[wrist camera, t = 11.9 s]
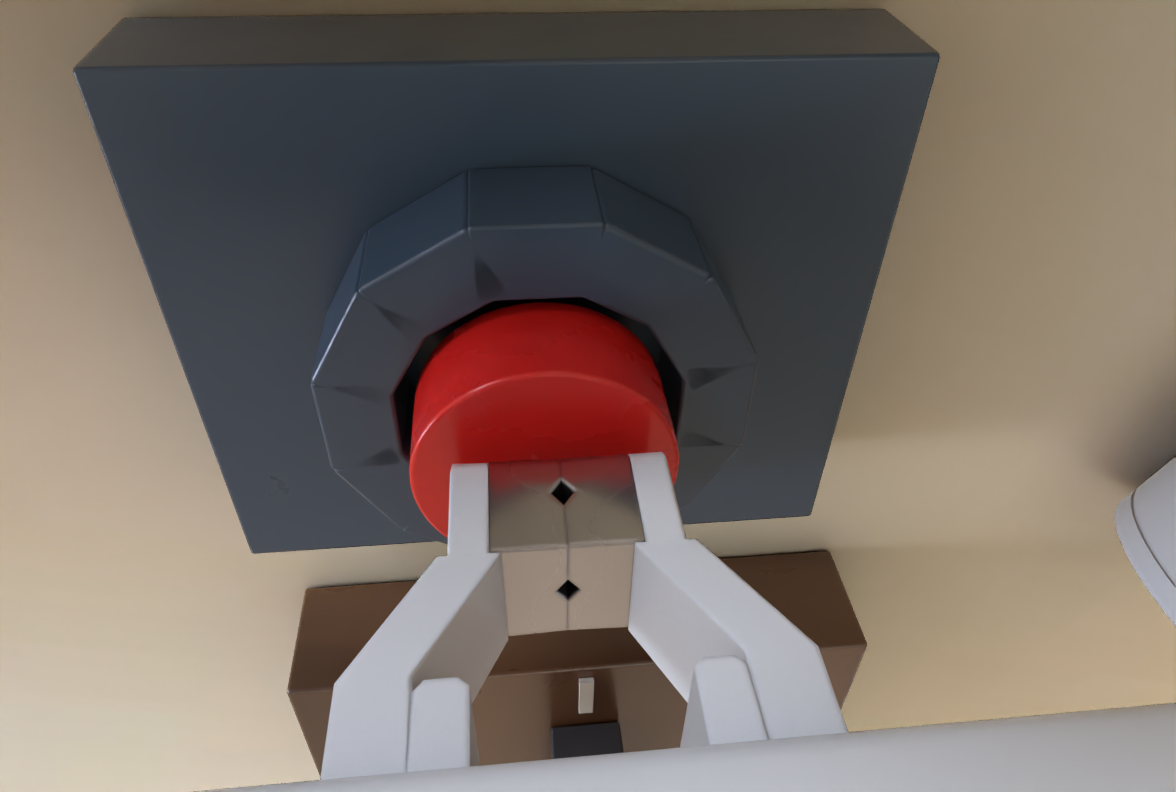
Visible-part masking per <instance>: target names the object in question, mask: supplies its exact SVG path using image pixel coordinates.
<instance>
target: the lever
mask: <svg viewBox="0 0 1176 792" xmlns="http://www.w3.org/2000/svg"><path fill="white" fill-rule="evenodd" d="M550 741H551V759H559V758H570V757H581V756H592V755H603V754H614V753H624V750H623V743H622V736H621V729H620V724H619V722H611V723H600V724H589V725H577V726H566V727H555V728H551V730H550Z"/></svg>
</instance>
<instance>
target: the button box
mask: <svg viewBox="0 0 1176 792" xmlns="http://www.w3.org/2000/svg"><path fill="white" fill-rule="evenodd" d="M939 59H940V54H939V53H938V52H937V51H936V50H934V49H933V48H932V47H931V46H930V45H928V44H927V43H926V42H925V41H923V40H922V39H921V38H920V37H919V36H917V35H916V34H915V33H914V32H912V31H911V30H910V29H909V28H908V27H906V26H905V25H904V24H903V23H901V22H900V21H899V20H898V19H897V18H895V17H894V16H893V15H892V14H890V13H889V12H888V11H887V10H885V9H852V10H766V11H681V12H596V13H511V14H426V15H340V16H255V17H170V18H124V19H122V20H121V21H120V22H119V23H118V24H117V25H116V26H115V27H114V28H113V29H112V30H111V31H110V32H109V33H108V34H107V35H106V36H105V37H104V38H103V39H102V40H101V41H100V42H99V43H98V44H97V45H96V46H95V47H94V48H93V49H92V50H91V51H90V52H89V53H88V54H87V55H86V56H85V57H84V58H83V59H82V60H81V61H80V62H79V63H78V64H77V65H76V66H75V67H74V68H73V73H74V76H75V79H76V81H77V84H78V87H79V89H80V92H81V95H82V97H83V100H84V103H85V105H86V108H87V111H88V114H89V116H90V119H91V122H92V124H93V127H94V130H95V132H96V135H97V138H98V140H99V143H100V146H101V149H102V151H103V154H104V157H105V159H106V162H107V165H108V167H109V170H110V173H111V175H112V178H113V181H114V184H115V186H116V189H117V192H118V194H119V197H120V200H121V202H122V205H123V208H124V210H125V213H126V216H127V219H128V221H129V224H130V227H131V229H132V232H133V235H134V237H135V240H136V243H137V245H138V248H139V251H140V254H141V256H142V259H143V262H144V264H145V267H146V270H147V272H148V275H149V278H150V280H151V283H152V286H153V289H154V291H155V294H156V297H157V299H158V302H159V305H160V307H161V310H162V313H163V316H164V318H165V321H166V324H167V326H168V329H169V332H170V334H171V337H172V340H173V342H174V345H175V348H176V351H177V353H178V356H179V359H180V361H181V364H182V367H183V369H184V372H185V375H186V377H187V380H188V383H189V386H190V388H191V391H192V394H193V396H194V399H195V402H196V404H197V407H198V410H199V412H200V415H201V418H202V421H203V423H204V426H205V429H206V431H207V434H208V437H209V439H210V442H211V445H212V447H213V450H214V453H215V456H216V458H217V461H218V464H219V466H220V469H221V472H222V474H223V477H224V480H225V482H226V485H227V488H228V491H229V493H230V496H231V499H232V501H233V504H234V507H235V509H236V512H237V515H238V517H239V520H240V523H241V526H242V528H243V531H244V534H245V536H246V539H247V542H248V544H249V547H250V550H251V552H252V553H254V554H255V553H270V552H285V551H300V550H314V549H329V548H344V547H359V546H373V545H388V544H403V543H417V542H432V541H439V542H443V543H446V544H448V538H446V537H445V536H444V535H442V534H441V533H440V532H439V531H437V530H436V529H435V528H434V527H433V526H432V525H431V524H430V523H429V521H428V520H427V519H426V518H425V516H424V515H423V513H422V512H421V511H420V509H419V507H418V505H417V503H416V501H415V499H414V496H413V493H412V490H411V486H410V479H409V463H410V450H411V438H412V425H413V412H414V399H415V390H416V385H417V381H418V378H419V375H420V372H421V370H422V368H423V366H424V364H425V362H426V361H427V359H428V358H429V356H430V355H431V353H432V352H433V351H434V349H435V348H436V347H437V346H438V345H439V344H440V343H441V342H442V341H443V340H444V339H445V338H446V337H447V336H448V335H449V334H451V333H452V332H453V331H454V330H456V329H457V328H458V327H460V326H462V325H463V324H465V323H466V322H468V321H470V320H471V319H473V318H476V317H478V316H480V315H482V314H484V313H486V312H489V311H492V310H496V309H499V308H502V307H506V306H511V305H515V304H520V303H531V302H558V303H566V304H573V305H577V306H581V307H585V308H589V309H592V310H594V311H597V312H600V313H602V314H604V315H606V316H608V317H610V318H612V319H614V320H616V321H618V322H619V323H620V324H622V325H623V326H625V327H626V328H627V329H629V330H630V331H631V332H632V333H633V334H634V335H636V336H637V337H638V338H639V339H640V340H641V341H642V343H643V344H644V345H645V347H646V348H647V349H648V350H649V352H650V354H651V356H652V358H653V359H654V361H655V363H656V366H657V369H658V372H659V375H660V379H661V383H662V387H663V390H664V394H665V398H666V402H667V405H668V409H669V413H670V416H671V420H672V424H673V428H674V431H675V435H676V439H677V443H678V450H679V468H678V473H677V478H676V481H675V484H674V486H673V487H674V491H675V495H676V499H677V503H678V507H679V511H680V515H681V519H682V523H683V524H697V523H712V522H727V521H741V520H756V519H771V518H786V517H800V516H809V515H811V512H812V509H813V505H814V501H815V498H816V494H817V491H818V487H819V484H820V480H821V477H822V473H823V470H824V466H825V463H826V459H827V455H828V452H829V448H830V445H831V441H832V438H833V434H834V431H835V427H836V424H837V420H838V416H839V413H840V409H841V406H842V402H843V399H844V395H845V392H846V388H847V385H848V381H849V378H850V374H851V370H852V367H853V363H854V360H855V356H856V353H857V349H858V346H859V342H860V339H861V335H862V332H863V328H864V324H865V321H866V317H867V314H868V310H869V307H870V303H871V300H872V296H873V293H874V289H875V285H876V282H877V278H878V275H879V271H880V268H881V264H882V261H883V257H884V254H885V250H886V247H887V243H888V239H889V236H890V232H891V229H892V225H893V222H894V218H895V215H896V211H897V208H898V204H899V201H900V197H901V193H902V190H903V186H904V183H905V179H906V176H907V172H908V169H909V165H910V162H911V158H912V154H913V151H914V147H915V144H916V140H917V137H918V133H919V130H920V126H921V123H922V119H923V116H924V112H925V108H926V105H927V101H928V98H929V94H930V91H931V87H932V84H933V80H934V77H935V73H936V70H937V66H938V62H939Z"/></svg>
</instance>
